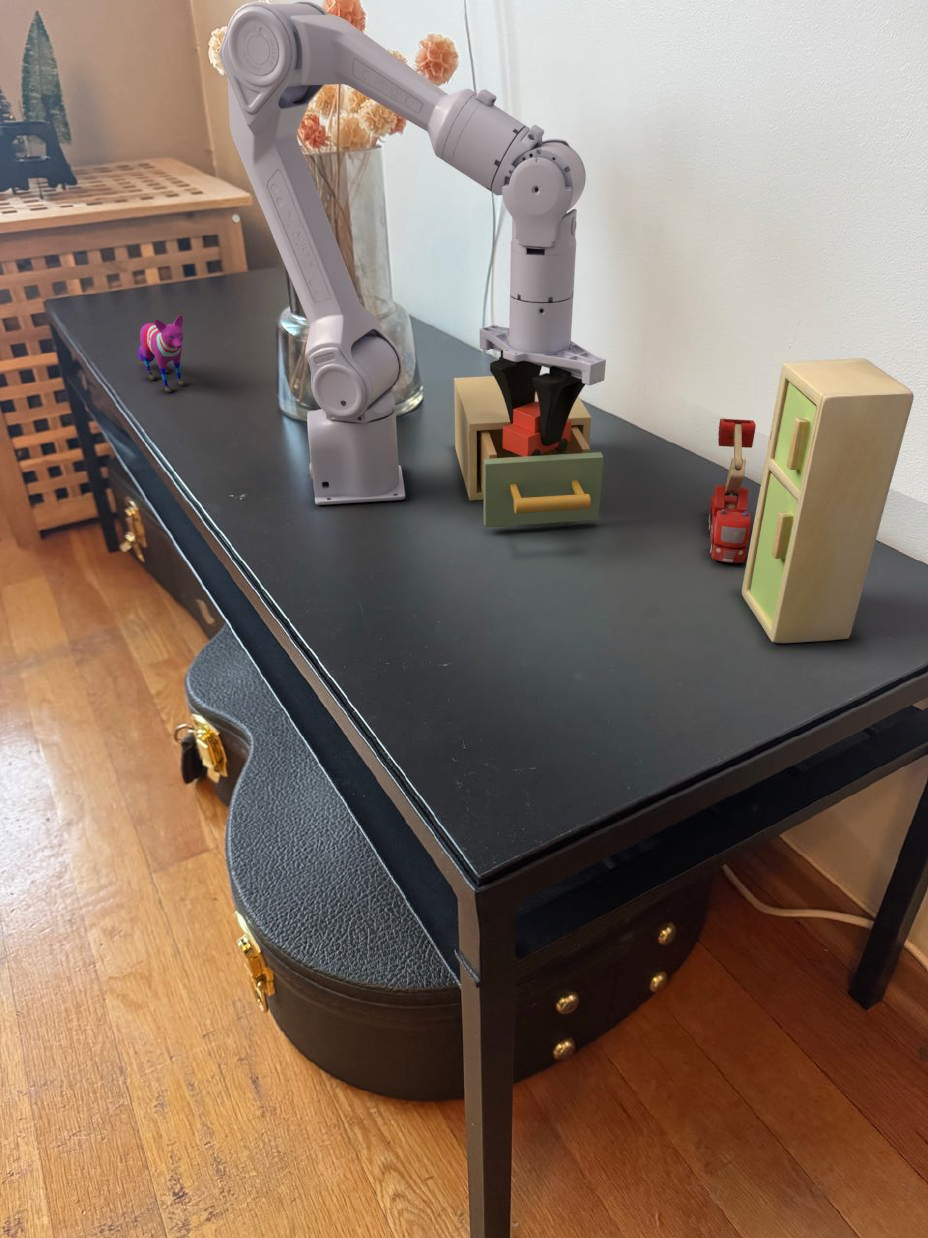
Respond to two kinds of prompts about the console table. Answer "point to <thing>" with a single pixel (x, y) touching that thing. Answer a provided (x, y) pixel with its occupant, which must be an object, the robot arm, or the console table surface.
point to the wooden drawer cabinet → (490, 422)
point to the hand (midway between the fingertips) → (536, 436)
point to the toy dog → (162, 347)
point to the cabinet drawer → (538, 482)
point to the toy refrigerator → (823, 496)
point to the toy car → (530, 433)
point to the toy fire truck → (731, 512)
